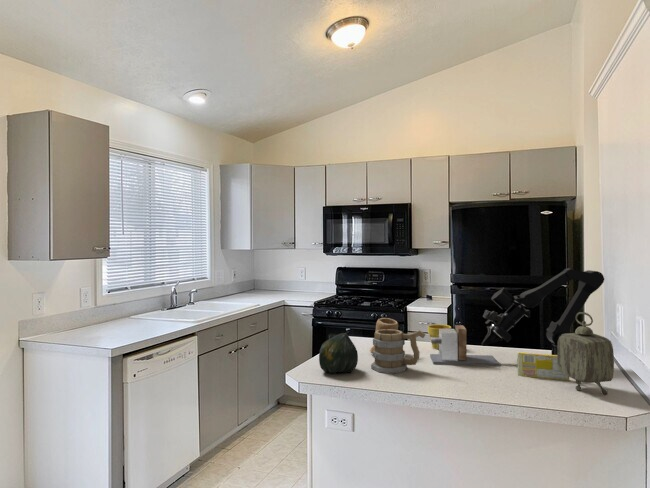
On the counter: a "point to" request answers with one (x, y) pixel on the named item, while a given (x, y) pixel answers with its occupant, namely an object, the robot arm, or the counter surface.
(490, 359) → the mat
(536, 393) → the counter surface
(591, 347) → the tabletop clock
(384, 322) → the stone cup
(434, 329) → the plant pot
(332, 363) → the squash
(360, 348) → the counter surface
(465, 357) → the wood block
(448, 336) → the bearing block
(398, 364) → the tankard
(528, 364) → the candy box
